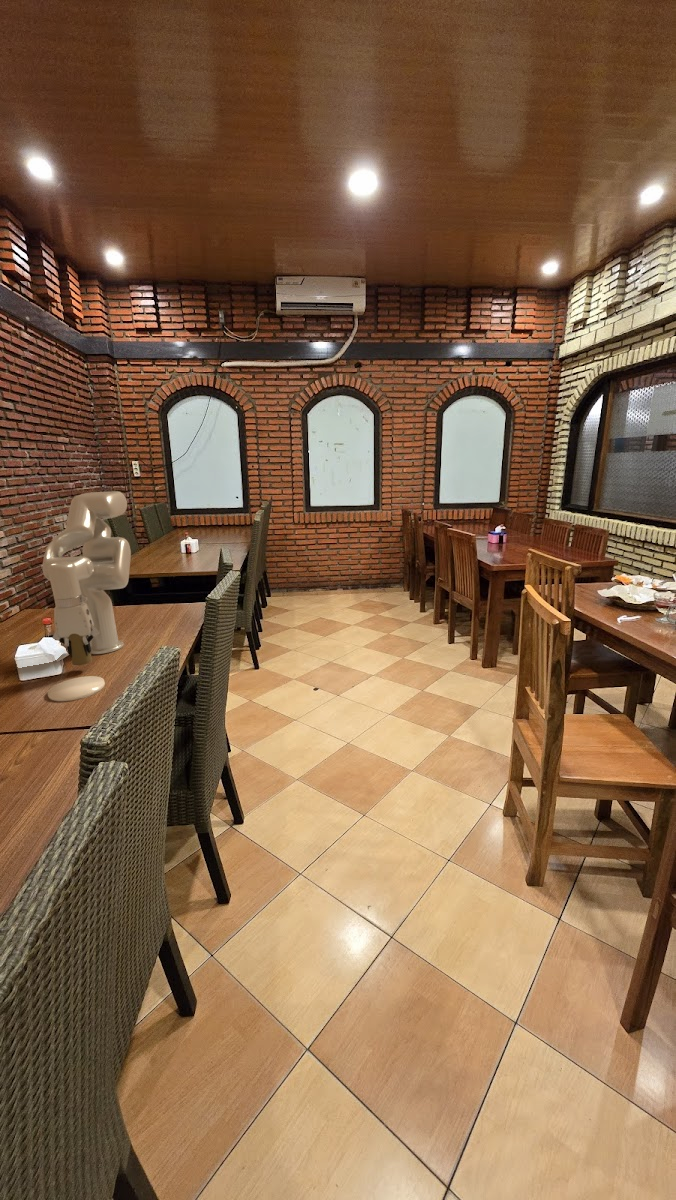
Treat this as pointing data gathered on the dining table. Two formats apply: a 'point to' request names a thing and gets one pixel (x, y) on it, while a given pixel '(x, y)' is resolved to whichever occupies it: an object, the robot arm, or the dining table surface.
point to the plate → (76, 688)
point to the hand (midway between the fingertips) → (80, 654)
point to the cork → (79, 650)
